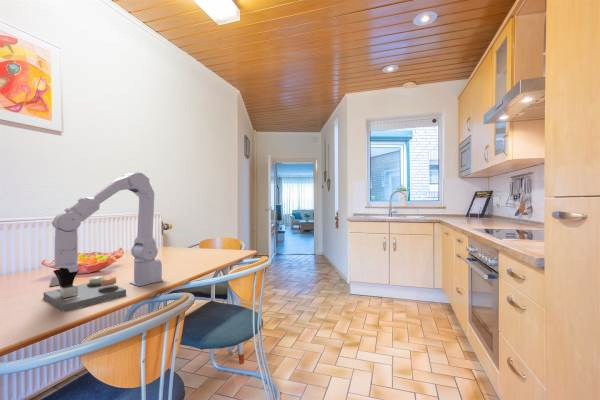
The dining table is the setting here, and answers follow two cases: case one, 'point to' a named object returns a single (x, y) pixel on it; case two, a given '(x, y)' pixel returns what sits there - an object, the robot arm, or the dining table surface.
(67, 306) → the control panel
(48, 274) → the dining table surface
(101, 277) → the sage button
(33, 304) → the dining table surface
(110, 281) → the terracotta button
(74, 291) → the slider knob
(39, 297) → the dining table surface
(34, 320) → the dining table surface
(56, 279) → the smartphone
